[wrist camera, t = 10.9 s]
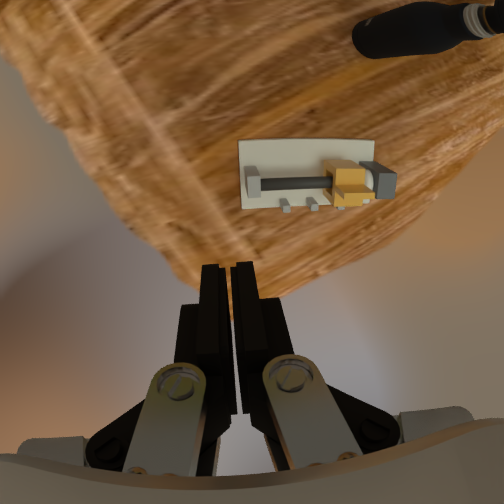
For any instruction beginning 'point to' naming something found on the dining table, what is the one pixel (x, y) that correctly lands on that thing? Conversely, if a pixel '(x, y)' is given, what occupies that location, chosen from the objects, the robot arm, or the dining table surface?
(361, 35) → the black water bottle
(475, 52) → the dining table surface
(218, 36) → the dining table surface
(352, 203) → the sleeve
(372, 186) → the linear slide rail
